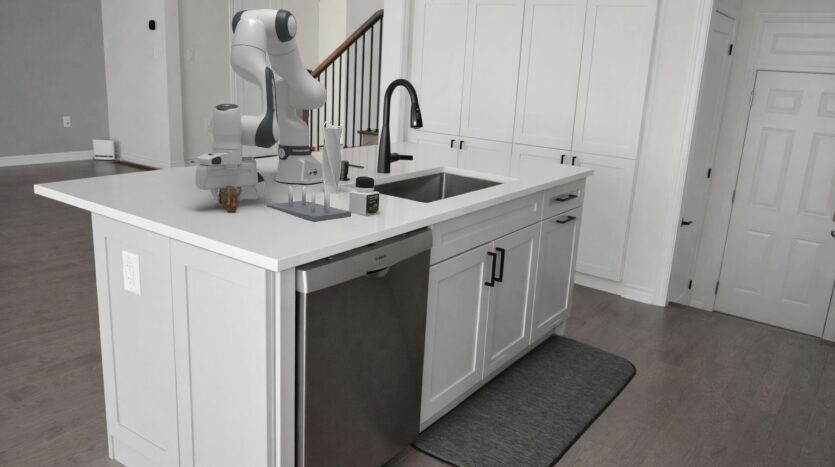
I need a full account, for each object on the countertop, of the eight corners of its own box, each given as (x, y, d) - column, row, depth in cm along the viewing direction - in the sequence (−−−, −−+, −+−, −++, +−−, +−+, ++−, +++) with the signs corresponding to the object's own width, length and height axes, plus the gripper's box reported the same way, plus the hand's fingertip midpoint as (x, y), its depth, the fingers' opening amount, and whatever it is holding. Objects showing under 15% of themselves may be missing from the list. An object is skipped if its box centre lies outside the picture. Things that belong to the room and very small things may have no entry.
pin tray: (302, 204, 215) (303, 183, 213) (351, 216, 199) (351, 193, 198) (266, 209, 203) (266, 186, 202) (314, 221, 188) (314, 197, 187)
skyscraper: (318, 195, 235) (319, 119, 230) (337, 195, 238) (339, 120, 232) (323, 199, 228) (325, 121, 222) (343, 198, 231) (345, 121, 225)
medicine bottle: (366, 216, 201) (367, 179, 199) (348, 213, 205) (349, 176, 202) (379, 213, 207) (380, 177, 205) (361, 210, 211) (362, 174, 208)
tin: (218, 207, 203) (217, 181, 201) (228, 206, 205) (227, 181, 203) (228, 215, 190) (228, 188, 188) (239, 215, 192) (238, 188, 190)
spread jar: (256, 198, 223) (256, 165, 221) (273, 203, 215) (273, 169, 213) (225, 200, 215) (224, 166, 212) (242, 206, 207) (241, 170, 204)
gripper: (250, 155, 204) (250, 197, 207) (192, 157, 188) (193, 203, 191) (261, 157, 200) (261, 200, 203) (203, 160, 184) (204, 206, 187)
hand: (228, 201), depth 197 cm, fingers open, 6 cm apart
